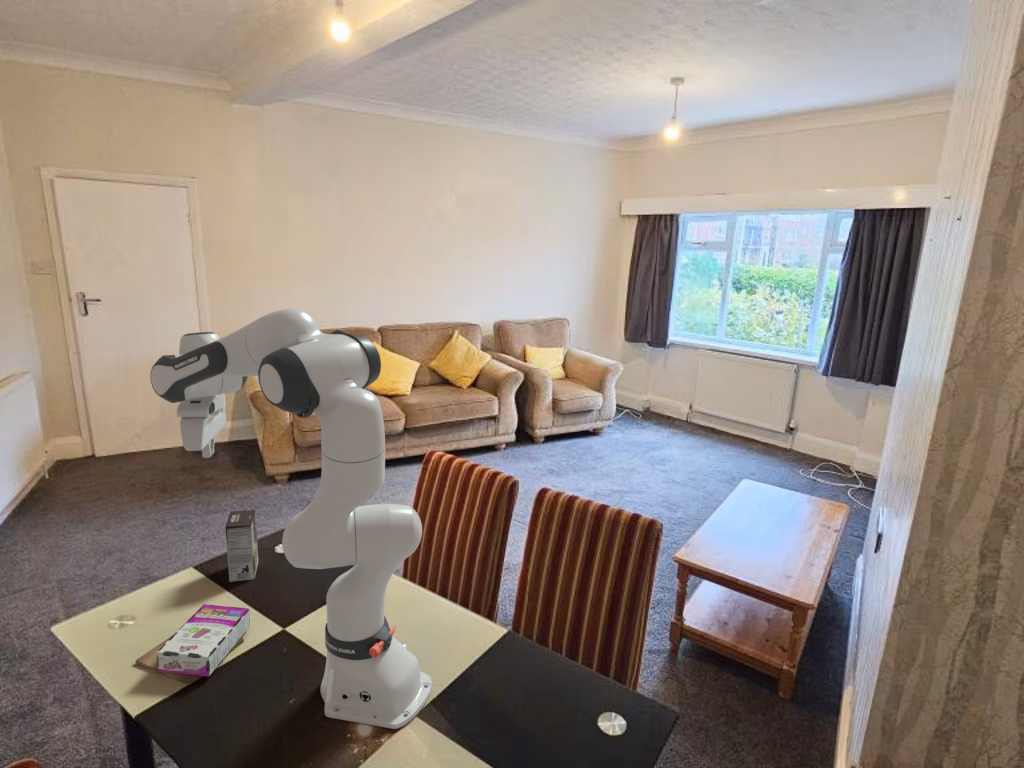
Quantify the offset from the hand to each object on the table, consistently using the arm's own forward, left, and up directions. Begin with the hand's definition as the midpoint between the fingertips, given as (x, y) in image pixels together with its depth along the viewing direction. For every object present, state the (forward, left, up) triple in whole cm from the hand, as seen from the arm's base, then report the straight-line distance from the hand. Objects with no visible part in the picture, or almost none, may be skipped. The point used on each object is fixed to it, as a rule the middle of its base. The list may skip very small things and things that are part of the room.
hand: (208, 455), depth 134 cm
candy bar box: (-13, +9, -34) cm, 37 cm away
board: (-12, +18, -37) cm, 43 cm away
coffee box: (+2, -10, -37) cm, 39 cm away
